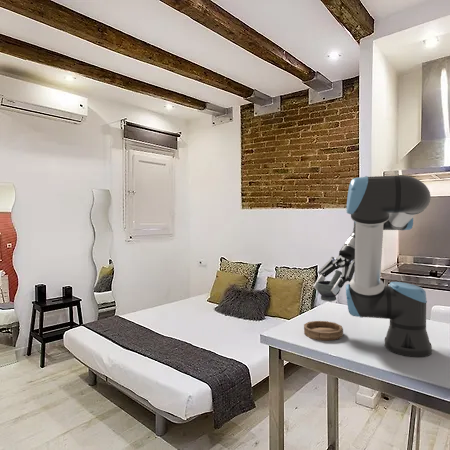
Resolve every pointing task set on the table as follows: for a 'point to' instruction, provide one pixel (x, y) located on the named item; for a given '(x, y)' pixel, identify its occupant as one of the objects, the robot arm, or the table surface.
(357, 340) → the table surface
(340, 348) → the table surface
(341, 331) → the round wooden tray
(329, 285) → the mortar and pestle
